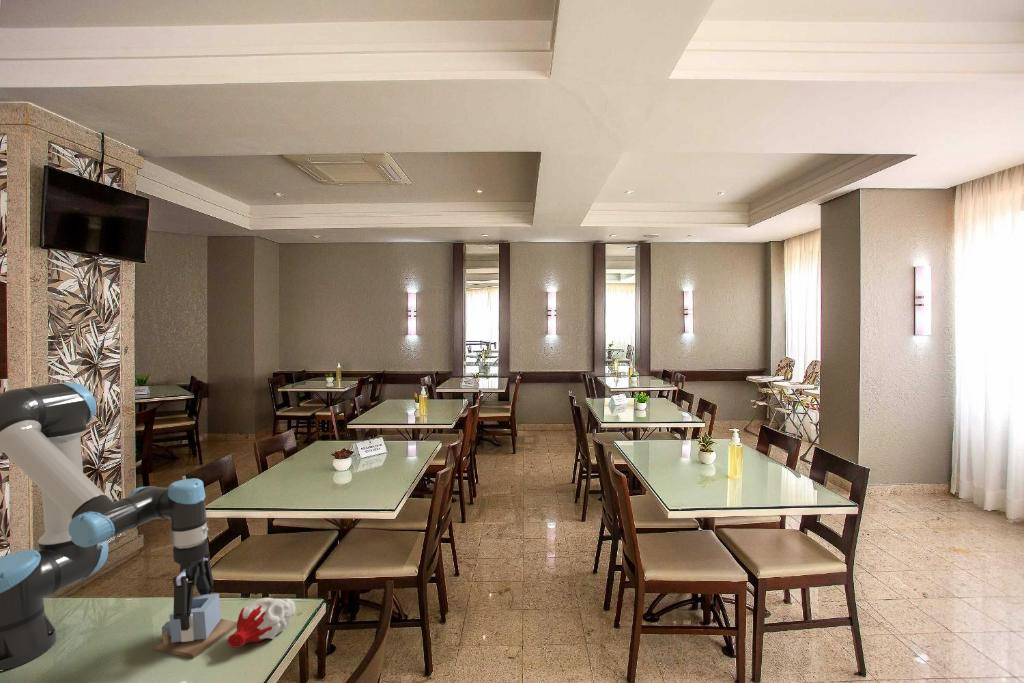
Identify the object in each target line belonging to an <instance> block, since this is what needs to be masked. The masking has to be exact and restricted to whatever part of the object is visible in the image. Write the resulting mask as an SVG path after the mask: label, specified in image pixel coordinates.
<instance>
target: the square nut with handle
mask: <svg viewBox="0 0 1024 683" xmlns="http://www.w3.org/2000/svg"><path fill="white" fill-rule="evenodd" d="M198 595H199V596H198ZM198 595H193V599H192V607H191V614H192V613H193V621H194V634H195V639H194V640H199V639H207V637H208V636H209V635H210V633H211V632H212V630H213V629H214V628H215V626H216V625H217V624H218V622H219V621H220V620H221V619H222V618H221V603H220V593H209V595H201V594H198ZM198 607H200V608H198ZM194 608H196V609H194ZM173 616H174V609H173V610H172V611H171V612H170V614H169V616H168V617H169V620H168V621H166V622H165V623H164V624H163V626H162V627H161V632H162V634H161V635H162V637H163V633H165V632H168V633H169V636H171V641H172V642H181V628H180V619H175V620H174V618H173Z"/></svg>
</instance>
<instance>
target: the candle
mask: <svg viewBox="0 0 1024 683" xmlns="http://www.w3.org/2000/svg"><path fill="white" fill-rule="evenodd" d="M296 610H297V607H296V602H295V600H293V599H292V598H291V599H290V598H282V599H279V598H272V597H262V598H259V599H256V600H255V601H253V602H251V603H249V604H248V605H246V606H245V607H242V609H241V610H240V612H239V615H238V618H237V620H236V622H237V627H236V630H235V631H234V632H233V633H232V634H230V636H228V638H227V640H226V641H227V644H228V645H229V646H231V647H232V648H234V647H237V648H239V647H241V646H244V645H245V644H246V643H259V642H261V641H264V640H265V639H271V640H273V639H274V638H275V637H276V636H277V635H278V634H280V633H281V632H282V631H283V630H285V629H286V628H287V627H288V625H289V624H290V622H291V619H292V618H293V617H294V616H295V614H296Z"/></svg>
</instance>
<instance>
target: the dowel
mask: <svg viewBox="0 0 1024 683" xmlns="http://www.w3.org/2000/svg"><path fill="white" fill-rule="evenodd" d="M162 639H163V646H164V647H166V646H168V645H169V633H168V632H165V633H163V636H162Z"/></svg>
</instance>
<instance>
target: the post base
mask: <svg viewBox="0 0 1024 683" xmlns="http://www.w3.org/2000/svg"><path fill="white" fill-rule="evenodd" d="M198 608H200V607H198ZM194 609H196V608H194ZM235 629H237V621H233V620H228V619H224V618H221V620H220V621H219V622H218V624H217V625H216V626H215V628H214V629H213V630H212V632H211V633H210V635H209V636H208V637H207V639H199V640H194V641H187V642H172V641H171V636H169V645H168V646H166V647H164V646H163V638H162V639H161V640H160V639H159V641H158V642H156V643H155V644H153V645H152V646H153V647H152V648H153V650H157V651H159V652H165V653H169V654H173V655H177V656H181V657H185V658H189V659H195V658H197V656H199V655H200V654H202V653H203V652H204V651H206V650H208V649H209V648H211V646H213V645H214V644H216V643H217V642H218V641H220V640H221V639H223V638H224V637H225V636H226V635H229V634H230V633H231V632H232V631H234V630H235Z"/></svg>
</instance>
